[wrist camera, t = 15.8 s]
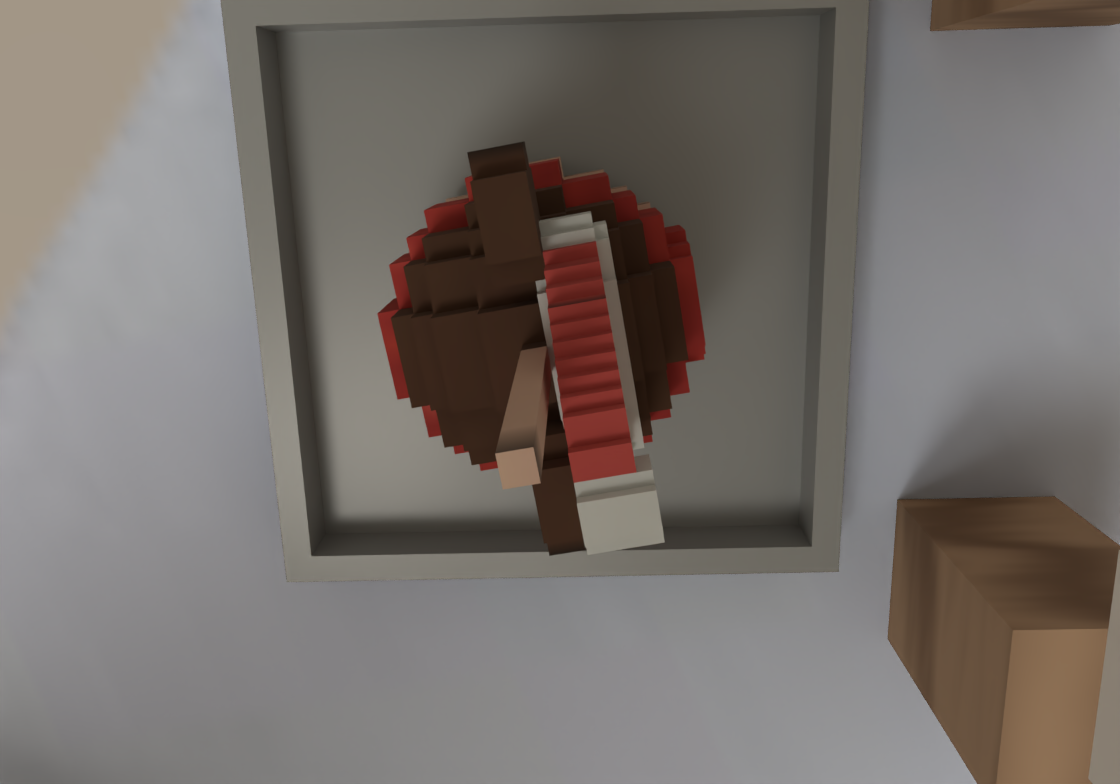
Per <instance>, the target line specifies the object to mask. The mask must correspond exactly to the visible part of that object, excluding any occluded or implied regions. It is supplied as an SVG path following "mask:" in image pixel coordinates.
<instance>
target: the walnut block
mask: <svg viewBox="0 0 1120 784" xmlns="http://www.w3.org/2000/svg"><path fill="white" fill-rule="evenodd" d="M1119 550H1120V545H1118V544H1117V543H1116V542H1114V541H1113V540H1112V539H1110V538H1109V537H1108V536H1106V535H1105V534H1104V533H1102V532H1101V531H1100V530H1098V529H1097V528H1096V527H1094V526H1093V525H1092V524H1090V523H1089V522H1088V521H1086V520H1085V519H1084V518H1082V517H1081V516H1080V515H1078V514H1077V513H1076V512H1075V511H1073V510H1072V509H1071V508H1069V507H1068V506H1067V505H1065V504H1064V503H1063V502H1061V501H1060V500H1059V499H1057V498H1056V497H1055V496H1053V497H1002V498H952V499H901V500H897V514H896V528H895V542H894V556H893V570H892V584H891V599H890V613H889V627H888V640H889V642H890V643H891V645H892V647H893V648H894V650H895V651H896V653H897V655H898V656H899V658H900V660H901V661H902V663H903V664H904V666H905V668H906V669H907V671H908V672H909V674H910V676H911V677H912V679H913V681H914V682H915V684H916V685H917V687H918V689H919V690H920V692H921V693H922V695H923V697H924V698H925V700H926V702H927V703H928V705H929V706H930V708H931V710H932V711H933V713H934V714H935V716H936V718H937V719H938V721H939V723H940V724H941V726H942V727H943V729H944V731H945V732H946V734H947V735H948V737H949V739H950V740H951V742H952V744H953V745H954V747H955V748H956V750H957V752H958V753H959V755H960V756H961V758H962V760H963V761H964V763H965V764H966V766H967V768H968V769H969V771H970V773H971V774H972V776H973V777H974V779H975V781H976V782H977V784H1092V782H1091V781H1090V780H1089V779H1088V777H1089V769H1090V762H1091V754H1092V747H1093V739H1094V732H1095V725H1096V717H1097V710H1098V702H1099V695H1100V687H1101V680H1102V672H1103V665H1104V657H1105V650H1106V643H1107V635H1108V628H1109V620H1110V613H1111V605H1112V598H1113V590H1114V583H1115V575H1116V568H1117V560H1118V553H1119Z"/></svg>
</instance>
